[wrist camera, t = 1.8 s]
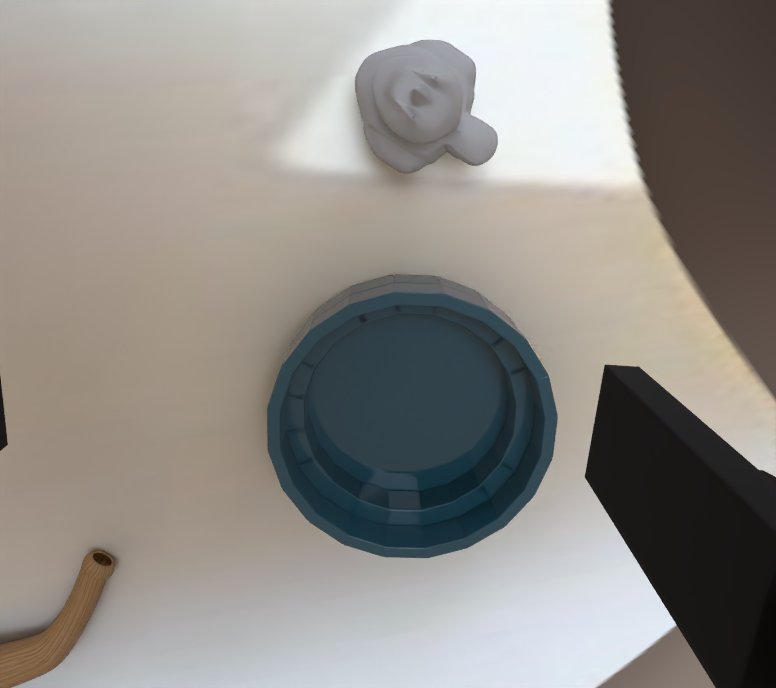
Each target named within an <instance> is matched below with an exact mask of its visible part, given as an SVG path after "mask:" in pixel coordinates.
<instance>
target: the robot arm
mask: <svg viewBox="0 0 776 688" xmlns="http://www.w3.org/2000/svg"><path fill="white" fill-rule="evenodd" d="M7 445H8V443H7V433H6V424H5V415H4V405H3V396H2V387H1V378H0V451H1V450H2V449H3V448H4V447H6V446H7ZM585 478H586V480H587V481H588V483H589V485H590V486H591V488H592V489H593V491H594V493H595V494H596V496H597V497H598V499H599V501H600V502H601V504H602V505H603V507H604V509H605V510H606V512H607V513H608V515H609V517H610V518H611V520H612V522H613V523H614V525H615V526H616V528H617V530H618V531H619V533H620V534H621V536H622V538H623V539H624V541H625V542H626V544H627V546H628V547H629V549H630V550H631V552H632V554H633V555H634V557H635V559H636V560H637V562H638V563H639V565H640V567H641V568H642V570H643V571H644V573H645V575H646V576H647V578H648V579H649V581H650V583H651V584H652V586H653V587H654V589H655V591H656V592H657V594H658V596H659V597H660V599H661V600H662V602H663V604H664V605H665V607H666V608H667V610H668V612H669V613H670V615H671V616H672V618H673V620H674V621H675V623H676V625H677V626H678V628H679V629H680V631H681V632H682V634H683V636H684V637H685V639H686V641H687V642H688V644H689V645H690V647H691V649H692V650H693V652H694V653H695V655H696V657H697V658H698V660H699V661H700V663H701V665H702V666H703V668H704V670H705V671H706V673H707V674H708V676H709V678H710V679H711V681H712V682H713V684H714V686H715V687H716V688H776V477H775V476H773V475H771V474H769V473H767V472H765V471H763V470H758V469H757V468H756V467H755V466H753V465H752V464H751V463H750V462H749V461H748V460H746V459H745V458H744V457H743V456H742V455H741V454H739V453H738V452H737V451H736V450H735V449H734V448H733V447H731V446H730V445H729V444H728V443H727V442H726V441H724V440H723V439H722V438H721V437H720V436H719V435H717V434H716V433H715V432H714V431H713V430H712V429H710V428H709V427H708V426H707V425H706V424H705V423H704V422H702V421H701V420H700V419H699V418H698V417H697V416H695V415H694V414H693V413H692V412H691V411H690V410H688V409H687V408H686V407H685V406H684V405H683V404H681V403H680V402H679V401H678V400H677V399H676V398H675V397H673V396H672V395H671V394H670V393H669V392H668V391H666V390H665V389H664V388H663V387H662V386H661V385H659V384H658V383H657V382H656V381H655V380H654V379H652V378H651V377H650V376H649V375H648V374H647V373H646V372H644V371H643V370H642V369H641V368H640V367H633V366H617V365H605V366H604V372H603V378H602V383H601V389H600V394H599V400H598V406H597V411H596V417H595V423H594V428H593V434H592V439H591V445H590V451H589V456H588V462H587V467H586V473H585Z"/></svg>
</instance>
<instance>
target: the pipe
mask: <svg viewBox="0 0 776 688" xmlns="http://www.w3.org/2000/svg"><path fill="white" fill-rule="evenodd" d="M114 567H115V564H114V561H113V559H112V557H111V556H110V555H108V554H107V553H105V552H102V551H93V552H91V553H89V554H87V555H86V556H85V558H84V560H83V563H82V566H81V570H80V572H79V575H78V578H77V580H76V583H75V585H74V587H73V590H72V592H71V594H70V596H69V598H68V600H67V602H66V604H65V606H64V608H63V609H62V611H61V612H60V614H59V616H58V617H57V618H56V620H55V621H54V622H53V623H52V625H51V626H50V627H49V628H48V629H46V630H45V631H44V632H42V633H40V634H38V635H35V636H32V637H28V638H24V639H21V640H17V641H12V642H8V643H4V644H0V688H11V687H14V686H16V685H19V684H22V683H24V682H27V681H29V680H32V679H34V678H36V677H39V676H41V675H43V674H45V673H47V672H49V671H51V670H52V669H54V668H55V667H57V666H58V665H59V664H60V663H61V662H62V661H63V660H64V659H65V658H66V656H67V655H68V654H69V652H70V651H71V650H72V648H73V647H74V645H75V643H76V642H77V640H78V639H79V637H80V635H81V633H82V632H83V630H84V628H85V626H86V624H87V622H88V620H89V618H90V616H91V614H92V612H93V610H94V608H95V606H96V603H97V601H98V599H99V596H100V594H101V591H102V589H103V586H104V583H105V581H106V579H107V578H108V577H110V576H111V575H112V573H113V571H114Z"/></svg>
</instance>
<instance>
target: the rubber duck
mask: <svg viewBox="0 0 776 688" xmlns="http://www.w3.org/2000/svg"><path fill="white" fill-rule="evenodd" d="M475 78H476V67H475V64H474V62H473V60H472V59H471V58H469V57H468V56H467V55H465V54H464V53H463V52H461V51H460V50H458V49H457V48H455V47H454V46H453V45H451V44H449V43H447V42H445V41H440V40H421V41H417V42H414V43H412V44H410V45H401V46H397V47H393V48H389V49H386V50H382V51H378V52H376V53H373V54H371V55H370V56H368V57H367V58H366V59H365V60H364V61H363V63H362V65H361V66H360V68H359V70H358V72H357V74H356V78H355V91H356V96H357V101H358V105H359V110H360V114H361V118H362V121H363V129H364V134H365V137H366V139H367V141H368V143H369V145H370V147H371V149H372V150H373V152H374V153H375V155H376V156H377V157H378V158H379V159H381V160H382V161H383V162H385V163H386V164H388V165H390V166H391V167H393V168H394V169H396V170H397V171H399V172H401V173H404V174H409V173H413V172H415V171H418V170H419V169H421V168H423V167H424V166H426V165H428V164H431V163H433V162H435V161H436V160H437V159H438V158H440V157H441V156H442V155H443V154H445V153H446V152H449V153H450V154H451V155H453V156H454V157H456V158H458V159H460V160H462V161H464V162H465V163H467V164H470V165H473V166H477V165H481V164H483V163H485V162H487V161H488V160H489V159H490V158H491V157H492V156H493V155H494V153H495V151H496V148H497V144H498V138H497V133H496V131H495V130H494V129H493V128H492V127H491V126H489V125H488V124H486V123H485V122H483V121H482V120H480V119H478V118H476V117H474V116H471V115H470V112H471V108H472V104H473V100H474V86H475Z"/></svg>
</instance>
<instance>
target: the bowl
mask: <svg viewBox="0 0 776 688" xmlns="http://www.w3.org/2000/svg"><path fill="white" fill-rule="evenodd" d="M557 419H558V417H557V410H556V406H555V401H554V397H553V392H552V388H551V383H550V379H549V376H548V373H547V372H546V370H545V368H544V367H543V365H542V364H541V362H540V360H539V359H538V357H537V356H536V354H535V353H534V351H533V349H532V348H531V346H530V345H529V343H528V341H527V340H526V338H525V337H524V336H523V334H522V333H521V332H520V331H519V329H518V328H517V327H516V325H515V324H514V323H513V321H512V320H511V319H510V317H508V315H507V314H505V313H504V312H503V311H502V310H500V309H499V308H498V307H497V306H495V305H494V304H493V303H492V302H490V301H489V300H488V299H487V298H485V297H484V296H483V295H482V294H480V293H479V292H477V291H475V290H474V289H471V288H468V287H465V286H463V285H460V284H457V283H454V282H452V281H449V280H446V279H444V278H441V277H436V276H422V275H389V276H386V277H382V278H379V279H375V280H372V281H368V282H364V283H361V284H357V285H354V286H351V287H350V288H348V289H347V290H345V291H344V292H342V293H341V294H339V295H338V296H336V297H335V298H333V299H332V300H330V301H329V302H327V303H326V304H324V305H323V306H321V307H320V308H318V309H317V310H316V311H315V312H314V313H313V315H312V316H311V317H310V319H309V320H308V321H307V322H306V324H305V325H304V326H303V328H302V329H301V330H300V331H299V333H298V334H297V335H296V337H295V338H294V339H293V340H292V343H291V344H290V347H289V349H288V352H287V354H286V356H285V359H284V361H283V363H282V366H281V368H280V371H279V374H278V377H277V380H276V383H275V386H274V389H273V392H272V395H271V398H270V401H269V404H268V408H267V438H268V452H269V455H270V458H271V460H272V463H273V466H274V468H275V471H276V474H277V476H278V479H279V482H280V485H281V487H282V489H283V491H284V492H285V493H286V494H287V496H288V497H289V498H290V499H291V500H292V502H293V503H294V504H295V505H296V507H297V508H298V509H299V510H300V512H301V513H302V514H303V515H304V517H305V518H306V519H307V520H308V521H309V522H310V523H312V524H313V525H315V526H316V527H318V528H319V529H321V530H322V531H324V532H325V533H327V534H328V535H330V536H331V537H333V538H334V539H336V540H337V541H339V542H340V543H342V544H344V545H346V546H349V547H353V548H356V549H359V550H362V551H366V552H369V553H372V554H375V555H379V556H382V557H400V558H426V557H427V558H430V557H434V556H438V555H442V554H446V553H450V552H454V551H458V550H462V549H466V548H468V547H470V546H472V545H474V544H476V543H477V542H479V541H481V540H483V539H484V538H486V537H488V536H489V535H491V534H493V533H495V532H496V531H498V530H500V529H502V528H503V527H505V526H506V525H507V524H508V523H509V522H510V521H511V520H512V519H513V518H514V517H515V516H516V515H517V514H518V513H519V511H520V510H521V509H522V508H523V507H524V506H525V505H526V504H527V503H528V502H529V501H530V500H531V499H532V498H533V496H534V495H535V494H536V491H537V489H538V487H539V485H540V483H541V481H542V479H543V477H544V475H545V473H546V471H547V469H548V467H549V465H550V463H551V461H552V457H553V451H554V443H555V435H556V427H557Z"/></svg>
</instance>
